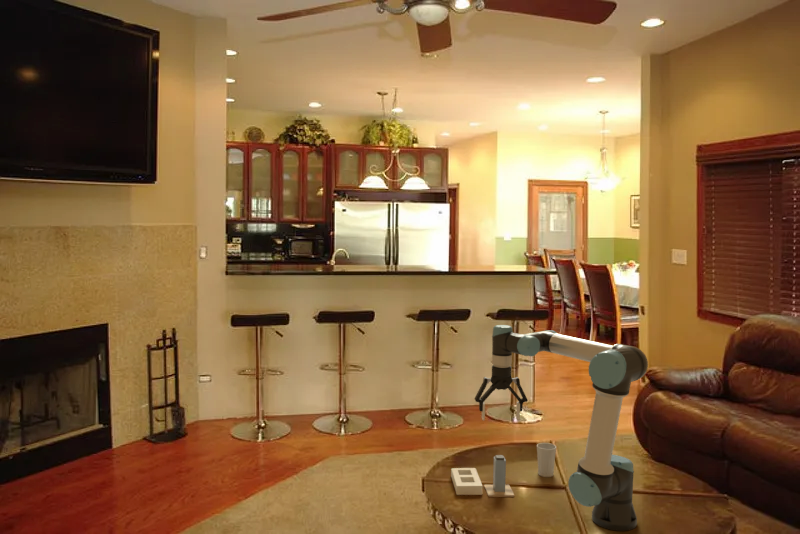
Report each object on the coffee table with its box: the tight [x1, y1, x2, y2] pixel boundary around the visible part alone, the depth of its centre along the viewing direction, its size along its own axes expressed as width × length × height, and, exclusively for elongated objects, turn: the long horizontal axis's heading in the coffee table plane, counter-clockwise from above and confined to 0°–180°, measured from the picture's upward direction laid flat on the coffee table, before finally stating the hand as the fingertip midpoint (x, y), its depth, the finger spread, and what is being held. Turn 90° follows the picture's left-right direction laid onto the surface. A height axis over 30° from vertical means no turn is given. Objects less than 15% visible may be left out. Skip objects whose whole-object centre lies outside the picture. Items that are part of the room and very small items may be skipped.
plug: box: [492, 454, 507, 492], centre depth 255 cm, size 4×4×13 cm
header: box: [450, 467, 484, 496], centre depth 260 cm, size 18×10×4 cm, turn 2°
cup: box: [536, 442, 557, 478], centre depth 272 cm, size 8×8×12 cm
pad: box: [483, 484, 515, 498], centre depth 255 cm, size 10×10×1 cm
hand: (500, 419), depth 253 cm, fingers open, 13 cm apart
